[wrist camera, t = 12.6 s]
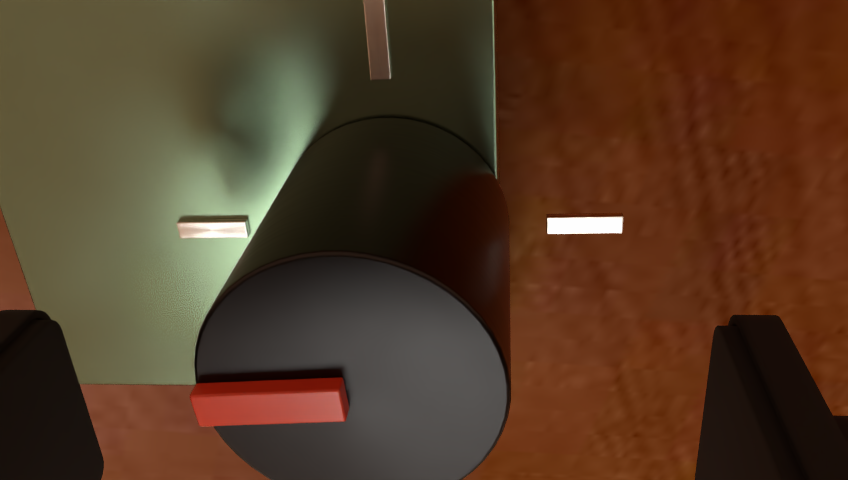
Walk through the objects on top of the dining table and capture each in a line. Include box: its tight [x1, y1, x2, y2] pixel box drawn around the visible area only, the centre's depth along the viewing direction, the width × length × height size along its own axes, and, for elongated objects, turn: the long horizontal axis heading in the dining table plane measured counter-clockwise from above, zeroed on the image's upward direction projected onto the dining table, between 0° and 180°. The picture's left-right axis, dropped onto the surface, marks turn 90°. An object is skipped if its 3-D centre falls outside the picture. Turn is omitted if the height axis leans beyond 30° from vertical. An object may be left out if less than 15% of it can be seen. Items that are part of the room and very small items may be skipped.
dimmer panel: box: [0, 0, 623, 385], centre depth 16 cm, size 12×12×3 cm
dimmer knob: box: [190, 118, 511, 480], centre depth 13 cm, size 4×4×5 cm
